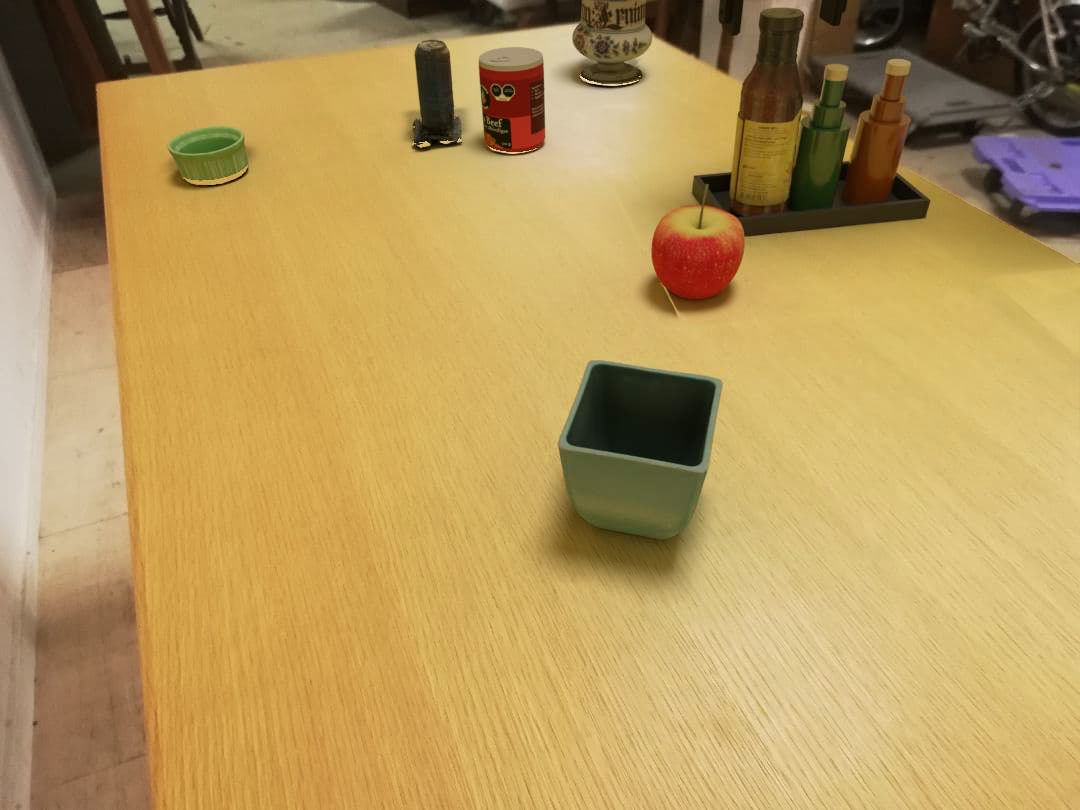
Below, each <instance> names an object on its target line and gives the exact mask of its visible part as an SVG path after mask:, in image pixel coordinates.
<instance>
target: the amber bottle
mask: <svg viewBox="0 0 1080 810" xmlns="http://www.w3.org/2000/svg"><path fill="white" fill-rule="evenodd" d="M911 66H912V62H911V61H909V60H907V59H904V58H892V59H889V60H887V63H886V67H885V70H884V71H885V74H884V79H883V84H882V86H881V91H880V93H875V94H874V95H873V98H872V101H871V105H870V109H867V110H864V111H862V112H860V114H859V117H858V122H857V125H856V130H855V135H854V139H853V142H852V148H851V152H850V155H849V160H848V161H849V164H848V168H847V172H846V177H845V181H844V185H843V189H842V194H841V198H842V199H843V200H844V201H845V202H846V203H848V204H850V205H853V206H854V205H864V204H873V203H883V202H888V201H889V198H890V194H891V191H892V187H893V183H894V180H895V176H896V173H898V169H899V166H900V161H901V158H902V155H903V150H904V146H905V143H906V140H907V137H908V132H909V129H910V125H911V122H912V119H911V117H910V116H909V115H908V114H906V113H904V112H905V109H906V106H907V105H906V104H907V101H908V99H907V97H906V96H904V95H903V91H904V88H905V85H906V81H907V76H908V74H909V73H910V70H911Z"/></svg>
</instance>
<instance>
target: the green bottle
mask: <svg viewBox="0 0 1080 810" xmlns="http://www.w3.org/2000/svg"><path fill="white" fill-rule="evenodd" d="M849 70H850V68H849V66H847V65H845V64H841V63H829V64H827V65H825V67H824V72H823V83H822V88H821V93H820V96H819V98H817V99H815V100H814V101H813V102H812V106H811V111H810V115H806V116H803V117H801V120H800V126H799V134H798V140H797V144H796V152H795V159H794V164H793V171H792V178H791V184H790V192H789V197H788V199H787V203H786V205H787V206H788V207H789V208H790V209H792V210H794V211H804V210H814V209H824V208H832V206H833V202H834V198H835V193H836V189H837V185H838V180H839V176H840V171H841V167H842V163H843V161H844V158H845V154H846V149H847V146H848V145H847V144H848V140H849V137H850V132H851V127H852V124H851V122H850V120H848V119H846V118H844V117H845V112H846V107H847V104H846V103H847V102H845V101H843V100H842V96H843V93H844V87H845V83H846V80H847V78H848V75H849Z"/></svg>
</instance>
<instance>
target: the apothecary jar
mask: <svg viewBox="0 0 1080 810" xmlns="http://www.w3.org/2000/svg"><path fill="white" fill-rule="evenodd" d="M646 7H647V0H581V11H580V13H581V14H580V22H579V23H578V24H577V25H576V26H575V28H574V31H573V32H572V37H571V39H572V40H571V41H572V44H573V46H574V48H575V49H576V51H578V52H579V53H580V54H581V55H582V56H584V57H585V58H587V59H590V60H592V61H594V62H597V63H593V64H591V65H589V66H587V67H585V68H583V69H582V70H581V71H580V72H581V73H580V72H579V75H580V74H581V76H582V77H583V78H585V79H587V80H589V81H594V82H597V83H601V84H623V83H629V82H633V81H637V80H639V79H640V78H639V76H643V77H644V73H643V72H642V70H641V69H639V68H638V67H636V66H633V65H632V64H630V63H626V62H628V61H631V60H634V59H637V58H640V57H641V56H642V55H643V54H645V53H646V52H647V51H648V49H649V48H650V47H651V45H652V42H653V33H652V31H651V29H650V27H649V26H648V25H647V24H646V9H647V8H646Z"/></svg>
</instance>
